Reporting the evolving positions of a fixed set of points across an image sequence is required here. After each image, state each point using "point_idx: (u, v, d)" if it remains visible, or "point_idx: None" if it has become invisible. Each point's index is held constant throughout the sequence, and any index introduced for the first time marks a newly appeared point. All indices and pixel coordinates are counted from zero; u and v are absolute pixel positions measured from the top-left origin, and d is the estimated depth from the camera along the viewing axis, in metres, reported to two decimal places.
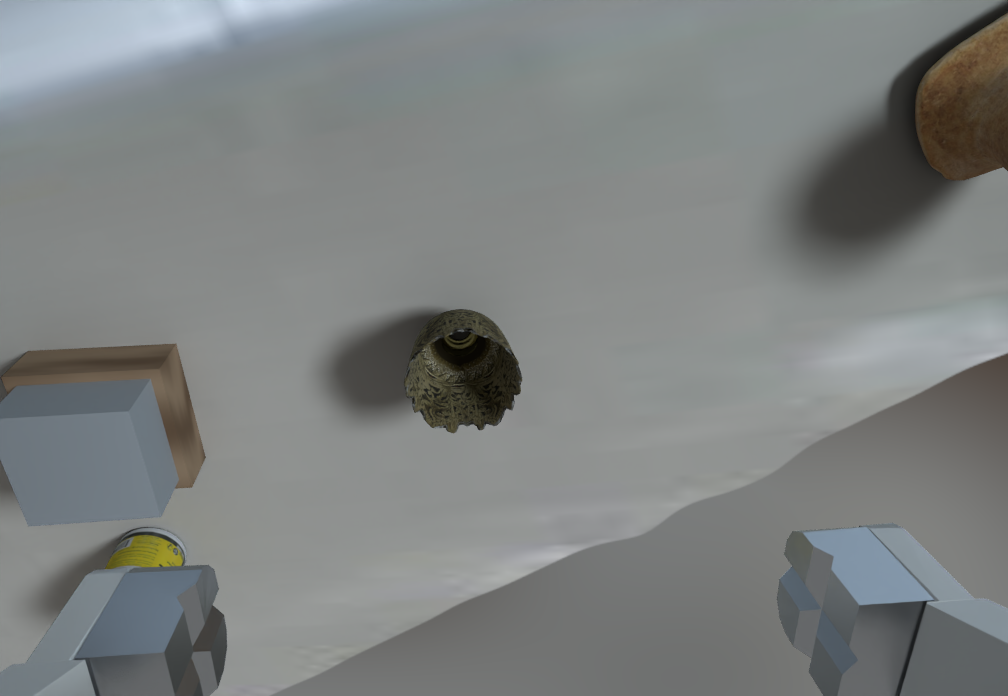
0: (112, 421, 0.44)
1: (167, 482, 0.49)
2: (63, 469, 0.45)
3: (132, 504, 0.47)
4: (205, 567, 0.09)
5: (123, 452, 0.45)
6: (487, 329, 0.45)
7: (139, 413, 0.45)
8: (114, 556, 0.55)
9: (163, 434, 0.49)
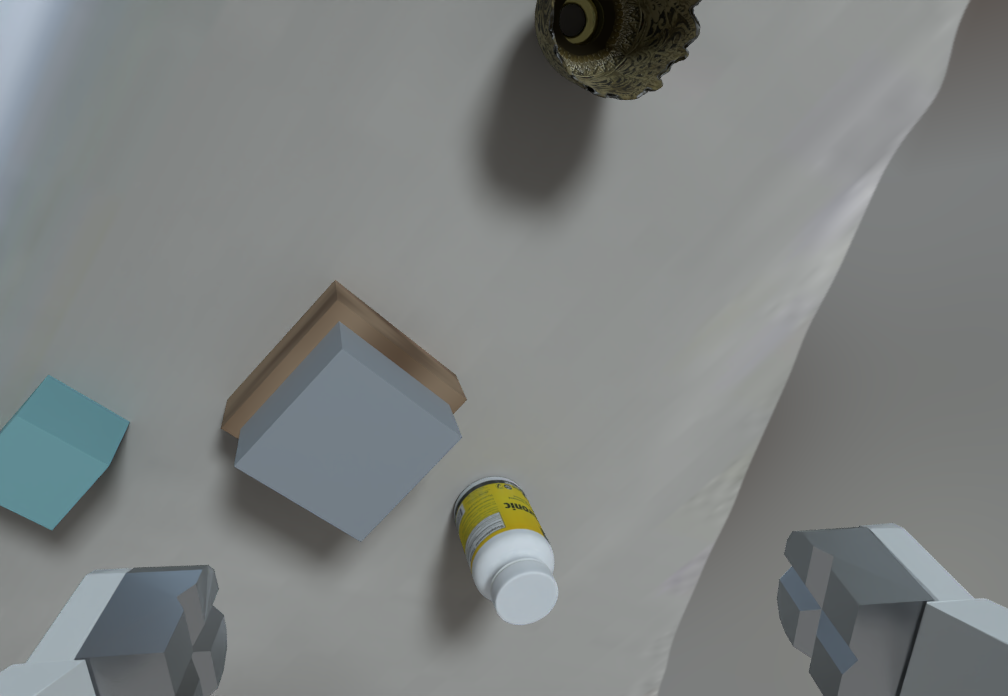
0: (337, 372, 0.36)
1: (440, 407, 0.41)
2: (340, 459, 0.38)
3: (427, 445, 0.39)
4: (205, 567, 0.09)
5: (374, 397, 0.37)
6: None
7: (356, 350, 0.37)
8: (460, 530, 0.48)
9: (397, 367, 0.41)
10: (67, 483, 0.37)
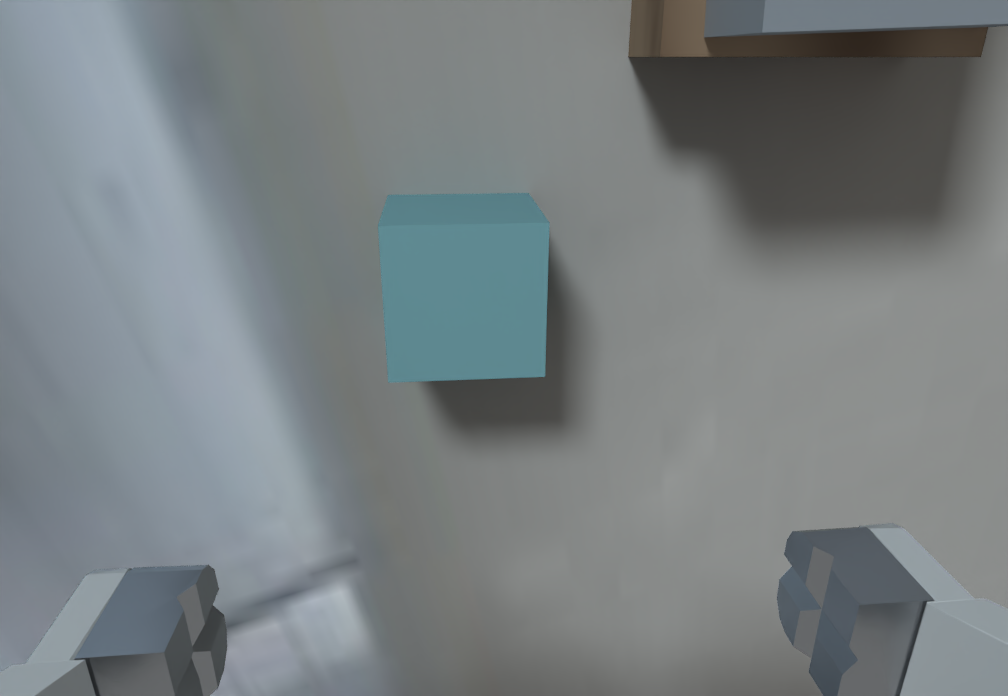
0: None
1: None
2: None
3: None
4: (205, 567, 0.09)
5: None
6: None
7: None
8: None
9: None
10: (516, 290, 0.21)
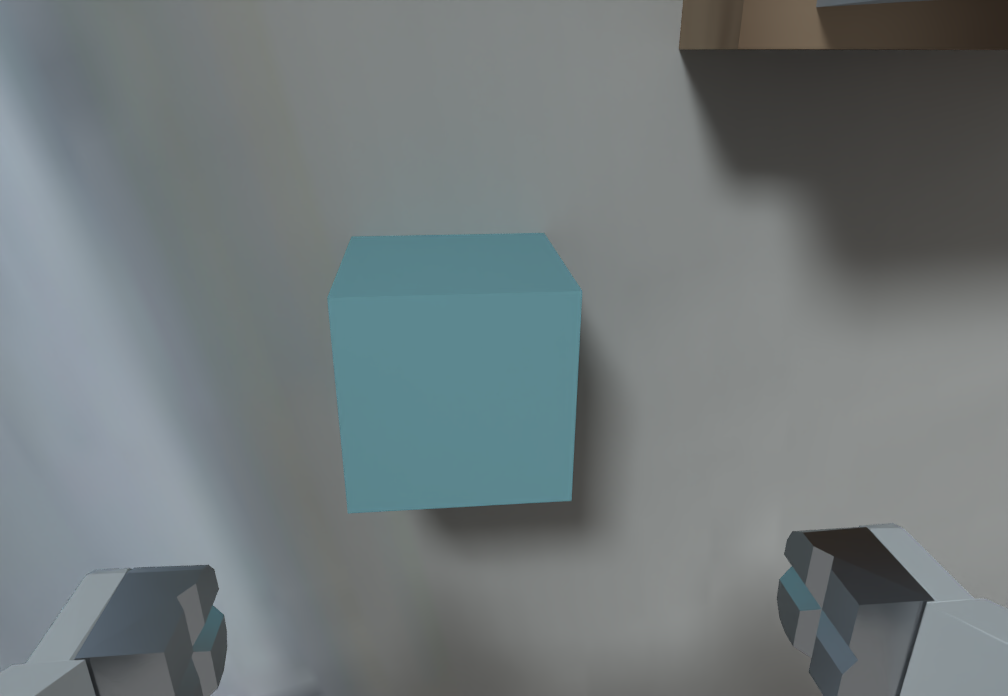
0: None
1: None
2: None
3: None
4: (205, 567, 0.09)
5: None
6: None
7: None
8: None
9: None
10: (531, 386, 0.15)
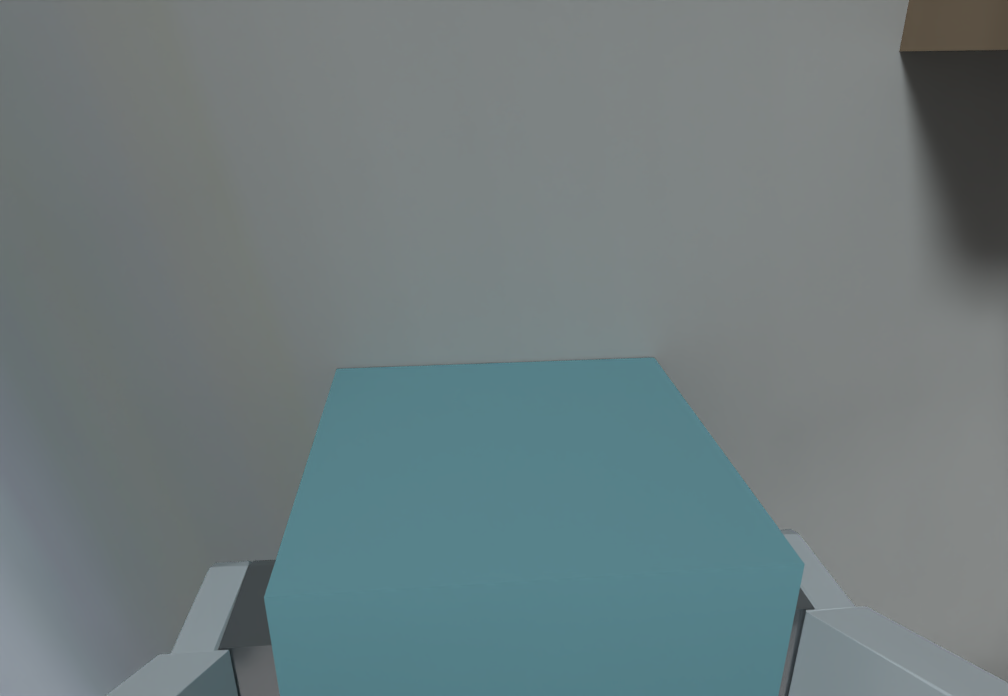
0: None
1: None
2: None
3: None
4: None
5: None
6: None
7: None
8: None
9: None
10: None
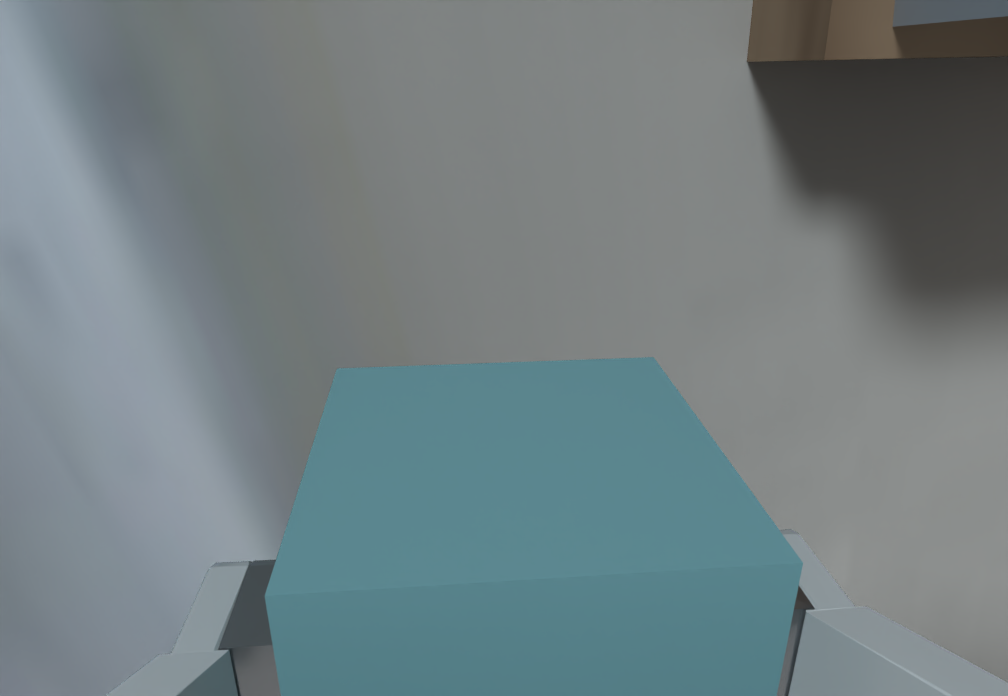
0: None
1: None
2: None
3: None
4: None
5: None
6: None
7: None
8: None
9: None
10: None
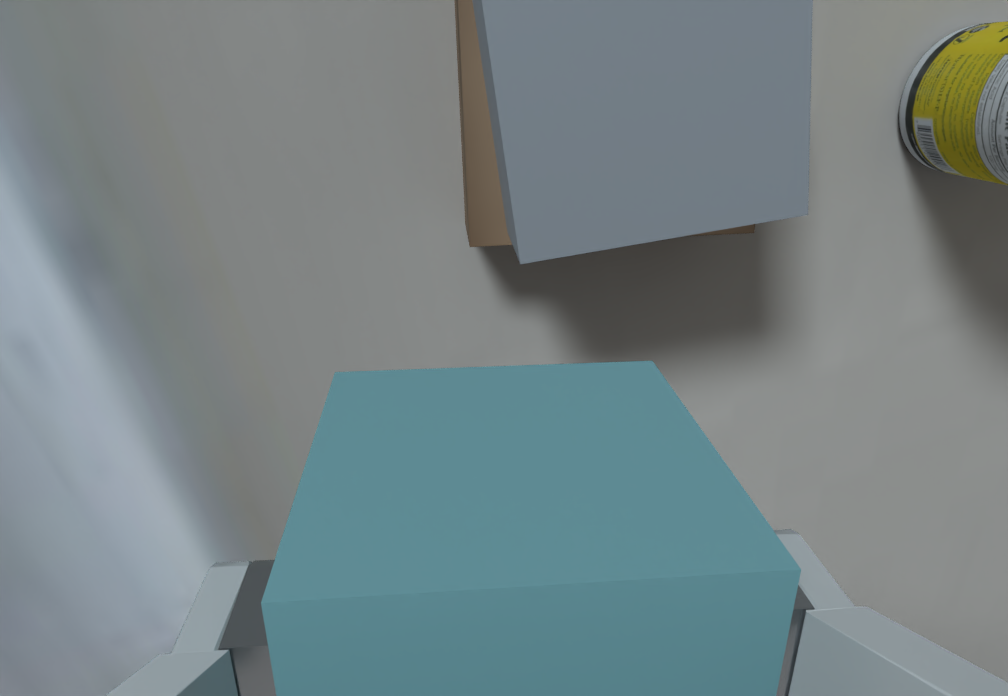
0: None
1: None
2: (651, 115, 0.19)
3: None
4: None
5: None
6: None
7: None
8: (947, 150, 0.25)
9: None
10: None
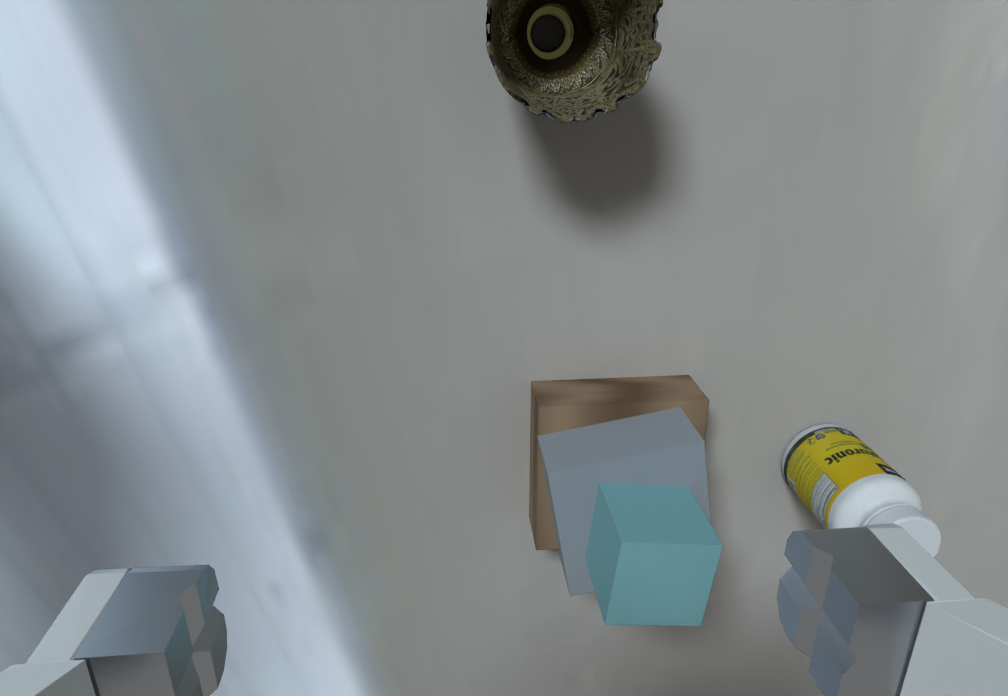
0: (563, 489, 0.38)
1: (670, 425, 0.39)
2: None
3: (684, 470, 0.38)
4: (205, 567, 0.09)
5: (607, 479, 0.38)
6: None
7: (562, 457, 0.38)
8: (802, 501, 0.45)
9: (610, 425, 0.41)
10: (694, 579, 0.34)
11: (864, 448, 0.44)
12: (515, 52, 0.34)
